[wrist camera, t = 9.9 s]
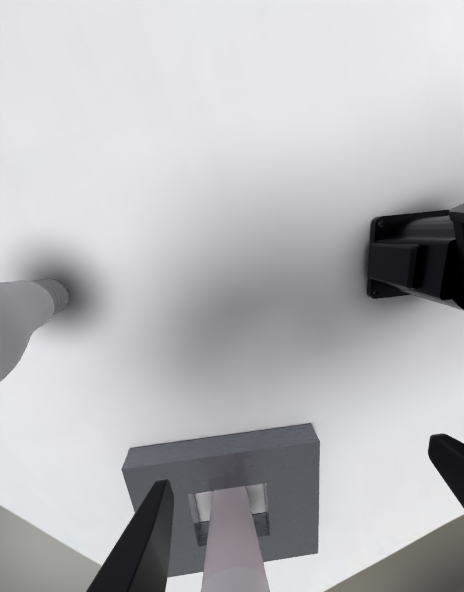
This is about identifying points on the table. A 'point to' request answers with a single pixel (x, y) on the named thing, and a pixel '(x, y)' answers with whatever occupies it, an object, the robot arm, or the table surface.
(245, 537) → the smoothie
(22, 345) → the lightbulb
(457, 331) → the table surface
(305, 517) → the square plate with hole
